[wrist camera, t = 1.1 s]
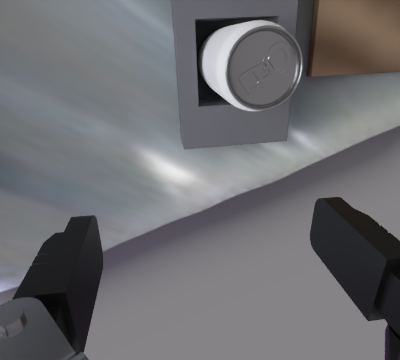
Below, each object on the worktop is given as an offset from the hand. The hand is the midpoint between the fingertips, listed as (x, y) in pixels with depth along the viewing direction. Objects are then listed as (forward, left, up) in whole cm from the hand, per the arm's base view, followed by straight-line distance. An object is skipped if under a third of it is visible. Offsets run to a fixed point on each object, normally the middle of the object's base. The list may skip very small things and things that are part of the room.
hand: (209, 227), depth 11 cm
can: (-4, +6, -25) cm, 26 cm away
